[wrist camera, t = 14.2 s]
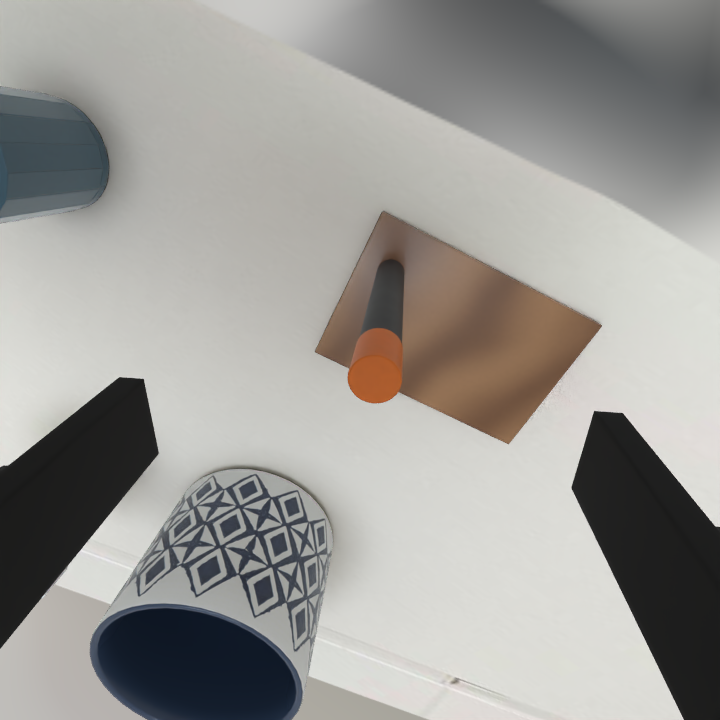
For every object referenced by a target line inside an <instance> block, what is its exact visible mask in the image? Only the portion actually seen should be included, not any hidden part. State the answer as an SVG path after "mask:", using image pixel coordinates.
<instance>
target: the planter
mask: <svg viewBox="0 0 720 720" xmlns="http://www.w3.org/2000/svg"><path fill="white" fill-rule="evenodd" d="M332 546H333V536H332V530H331V527H330V523H329V521H328V519H327V517H326V515H325V513H324V511H323V510H322V509H321V507H320V506H319V504H318V503H317V502H316V501H315V500H314V499H313V498H312V497H311V496H310V495H309V494H308V493H306V492H305V491H304V490H303V489H301V488H300V487H298V486H297V485H295V484H293V483H292V482H290V481H288V480H286V479H284V478H281V477H279V476H277V475H274V474H270V473H267V472H263V471H257V470H251V469H231V470H224V471H220V472H215V473H212V474H210V475H208V476H205V477H203V478H201V479H200V480H198V481H197V482H195V483H194V484H193V485H192V486H191V487H190V488H189V489H188V490H187V491H186V492H185V494H184V495H183V497H182V498H181V500H180V501H179V503H178V504H177V506H176V507H175V509H174V510H173V512H172V513H171V515H170V516H169V518H168V519H167V521H166V522H165V524H164V525H163V527H162V528H161V530H160V531H159V533H158V534H157V536H156V537H155V539H154V540H153V542H152V543H151V545H150V547H149V548H148V550H147V551H146V553H145V554H144V556H143V557H142V559H141V560H140V562H139V563H138V565H137V566H136V568H135V569H134V571H133V572H132V574H131V575H130V577H129V578H128V580H127V581H126V583H125V585H124V586H123V588H122V589H121V591H120V592H119V594H118V595H117V597H116V598H115V600H114V601H113V603H112V604H111V606H110V608H109V609H108V610H107V612H106V614H105V615H104V617H103V618H102V620H101V621H100V623H99V625H98V626H97V628H96V629H95V631H94V633H93V636H92V639H91V642H90V657H91V662H92V666H93V668H94V670H95V672H96V674H97V676H98V677H99V679H100V681H101V682H102V684H103V685H104V686H105V687H106V688H107V690H108V691H110V693H111V694H112V695H113V696H114V697H115V698H117V699H118V700H119V701H120V702H121V703H122V704H123V705H125V706H126V707H128V708H129V709H131V710H132V711H133V712H135V713H137V714H138V715H140V716H142V717H144V718H145V719H147V720H292V719H293V717H294V716H295V715H296V714H297V712H298V711H299V709H300V706H301V704H302V701H303V696H304V691H305V687H306V682H307V678H308V673H309V668H310V662H311V657H312V652H313V647H314V642H315V637H316V632H317V627H318V621H319V616H320V611H321V606H322V601H323V595H324V590H325V585H326V580H327V574H328V569H329V564H330V558H331V553H332Z"/></svg>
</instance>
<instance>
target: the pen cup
mask: <svg viewBox="0 0 720 720" xmlns="http://www.w3.org/2000/svg"><path fill="white" fill-rule="evenodd" d="M108 174H109V163H108V156H107V152H106V148H105V145H104V143H103V140H102V138H101V136H100V134H99V132H98V131H97V129H96V127H95V126H94V125H93V123H92V122H91V121H90V120H89V118H88V117H87V116H86V115H85V114H84V113H83V112H82V111H80V110H79V109H78V108H77V107H75V106H74V105H73V104H71V103H69V102H67V101H66V100H64V99H61V98H59V97H55V96H51V95H48V94H45V93H39V92H32V91H26V90H20V89H14V88H8V87H2V86H0V224H1V223H7V222H13V221H19V220H24V219H30V218H36V217H42V216H47V215H53V214H59V213H65V212H71V211H75V210H77V209H82V208H85V207H88V206H89V205H91V204H93V203H94V202H95V201H96V200H98V198H99V197H100V196H101V195H102V193H103V191H104V189H105V187H106V184H107V180H108Z"/></svg>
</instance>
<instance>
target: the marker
mask: <svg viewBox="0 0 720 720" xmlns="http://www.w3.org/2000/svg"><path fill="white" fill-rule="evenodd" d="M403 301H404V268H403V266H402V265H401V263H399V262H398V261H396V260H392V259H389V260H385V261H383V262H382V263H381V264H380V265H379V267H378V269H377V273H376V277H375V280H374V284H373V288H372V291H371V295H370V299H369V303H368V306H367V310H366V314H365V318H364V321H363V325H362V329H361V332H360V336H359V339H358V341H357V343H356V347H355V350H354V354H353V358H352V361H351V365H350V368H349V372H348V384H349V387H350V389H351V390H352V392H353V393H354V394H355V395H356V396H357V397H358V398H360V399H361V400H363V401H366V402H369V403H383V402H386V401H388V400H390V399H392V398H393V397H394V396H395V395H396V394H397V393H398V392H399V390H400V388H401V385H402V365H403V346H402V330H403Z"/></svg>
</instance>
